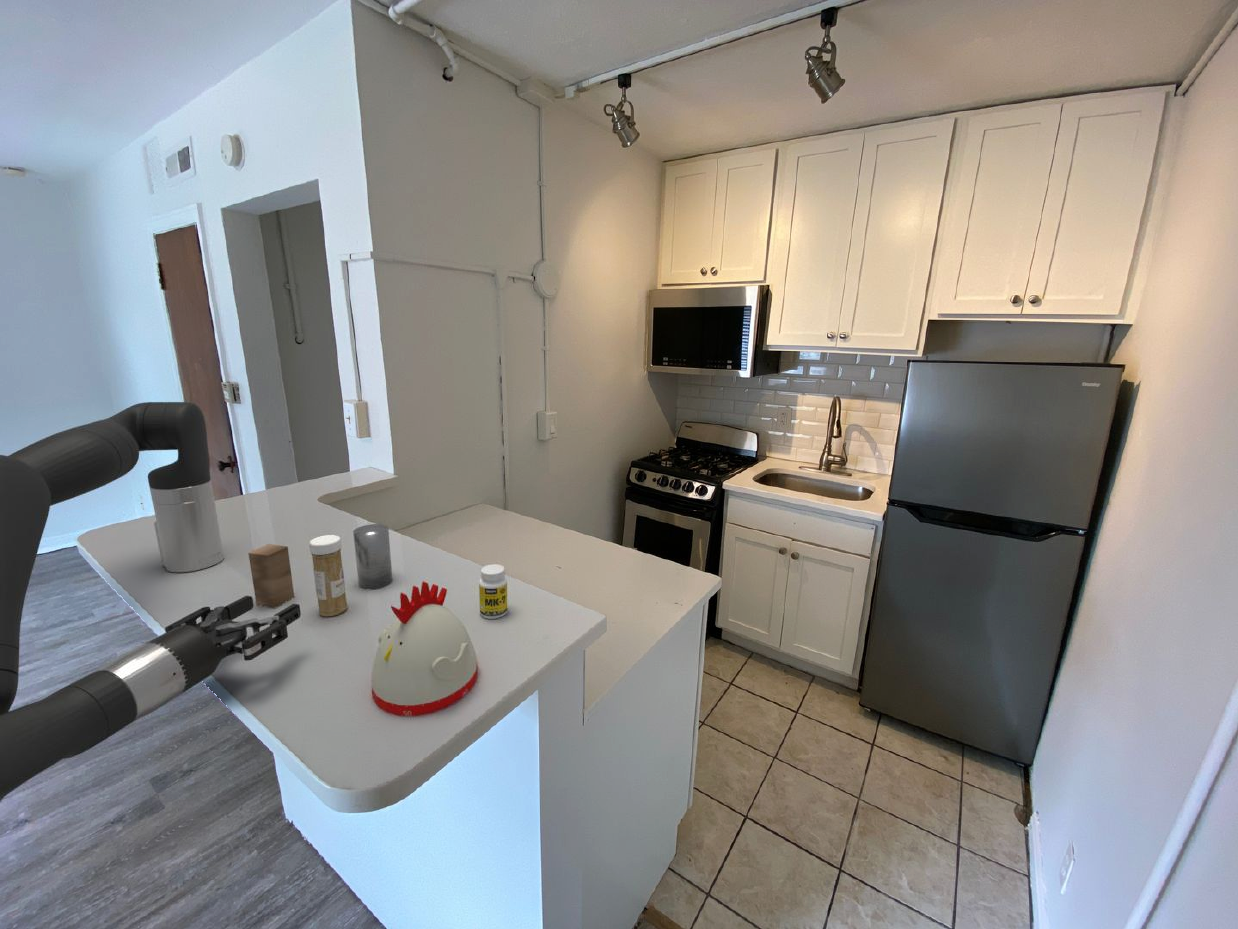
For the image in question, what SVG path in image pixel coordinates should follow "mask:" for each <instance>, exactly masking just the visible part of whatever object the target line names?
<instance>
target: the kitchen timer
mask: <svg viewBox="0 0 1238 929" xmlns="http://www.w3.org/2000/svg"><path fill="white" fill-rule="evenodd" d="M420 588H421V589H419V587H418V586H416V585H413V586H412V588H411V589H412V590H411V599H409V597H408V595H407V594H406V593H404V592H400V594H399V596H400V597H399V599H400V600H399V601H400V607H399V608H397V607H395V606H393V605H390V609H391V611H392V612H393V613H394V615H395V618H394V619H393V620H392V621H391V622H390V624H389V625H388V627H386V628H384V629H383V630H382V632H381V633H380V635H379V637H378V647H377V650H376V654H375V657H374V661H373V665H372V672H371V693H372V699H373V701H374V702H375V704H376V706H377V707H378V708H379V709H381V710H383V711H384V712H385V713H389V714H392V715H396V716H400V717H401V716H404V717H405V715H406V717H408V716H410V717H411V716H412V717H416V716H422V715H426V714H432V713H435V711H436V712H438V711H440V710H443V709H446V708H449V707H450V706H452V705H454V704H456V703H457V702H459V701H460V700H461V698H462V699H463V698H464V697H465V696H466V695H467V694H468V693H469V692H470V691H471V690H472V689H473V687H474V685H475V684H474V683H476V682H477V678H478V671H479V670H478V659H477V654H476V651H475V649H474V645H473V643H472V639H471V638H470V634H469V632H468V630H467V628H466V627H465V625H464V624H463V622H462V620H460V619H459V617H457V615H455V613H454V612H453V611H452V610H450V609H449V608H448V607H446V606H444V602H445V600H446V596H447V594H448V589H447V588H445V587H441V589H440V591H439V585H437V584H434V583H433V584H432V585H431V588H430V586H429V583H428V582H426V581H424V580H423V581H422V582H421V587H420ZM466 693H467V694H466ZM465 694H466V695H465ZM464 695H465V696H464ZM463 696H464V697H463ZM458 700H459V701H458Z"/></svg>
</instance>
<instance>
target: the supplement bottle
mask: <svg viewBox="0 0 1238 929" xmlns="http://www.w3.org/2000/svg"><path fill="white" fill-rule="evenodd" d="M506 577H507V576H506V570H505V566H503V565H501V564H487V565H484V566H483V567H482V568H481V570H480V579H479V581H478V591H479V596H478V599H479V614H480V616H481V617H483V618H484V619H489V620H492V619H493V620H494V619H498V618H501V617H503V616H505V615H506V614H507V612H508V578H506Z"/></svg>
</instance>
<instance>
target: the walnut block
mask: <svg viewBox="0 0 1238 929" xmlns="http://www.w3.org/2000/svg"><path fill="white" fill-rule="evenodd" d="M248 560H249V566H250V572H251V579H252V584H253V591H254V598H255V603H256V606H259V605H262V606H261V607H264V606H267V607H266V608H270V607H277V608H279V607H281V606H282V605H283V603H284V604H285V602H286V601H287V602H289V601H291V600H292V598H293V599H294V598H295V592H294V583H293V577H292V576H293V575H292V568H291V561H290V553H289V547H288V546H285V545H279V544H278V545H277V544H271V543H268V544H266V545H263V546H261V547H259V548H256V549H254V550H252V551H250V552H248ZM287 602H286V603H287ZM278 606H279V607H278Z"/></svg>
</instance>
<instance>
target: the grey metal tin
mask: <svg viewBox="0 0 1238 929" xmlns="http://www.w3.org/2000/svg"><path fill="white" fill-rule="evenodd" d="M352 532H353V533H352V535H353V542H354V553H355V561H356V571H357V573H356V574H357V581H358V588H360V589H362V590H366V589H373V590H379V589H382V588H385V587H387V586H389V585H390V584H392V582H393V570H392V569H393V568H392V556H391V547H390V546H391V545H390V544H391V543H390V532H389V526H388V525H386V524H382V523H380V524H379V523H373V524H365V525H362V526H359V527H357V528H355V529H354V530H352Z"/></svg>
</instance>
